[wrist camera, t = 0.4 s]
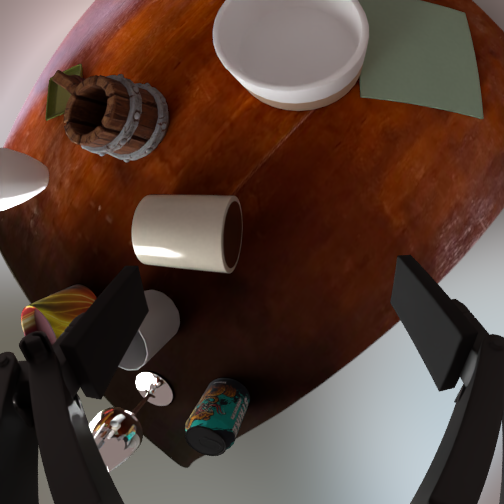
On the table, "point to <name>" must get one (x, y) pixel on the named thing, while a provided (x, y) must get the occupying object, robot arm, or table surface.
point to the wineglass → (127, 422)
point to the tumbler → (188, 231)
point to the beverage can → (217, 417)
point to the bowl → (293, 49)
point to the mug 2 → (114, 115)
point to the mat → (420, 56)
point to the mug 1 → (56, 311)
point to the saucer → (59, 94)
